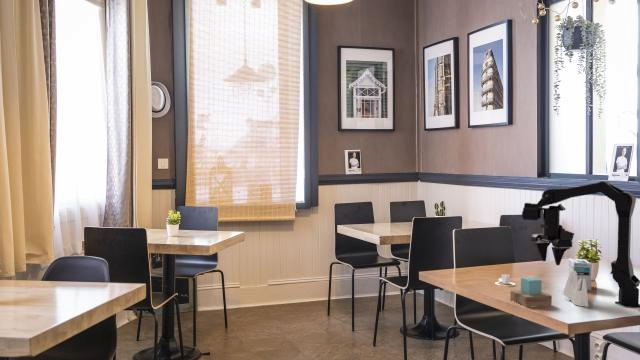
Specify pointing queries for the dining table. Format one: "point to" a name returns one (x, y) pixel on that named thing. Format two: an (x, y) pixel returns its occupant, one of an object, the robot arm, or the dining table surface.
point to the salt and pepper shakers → (576, 290)
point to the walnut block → (531, 299)
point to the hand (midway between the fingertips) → (550, 263)
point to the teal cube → (531, 286)
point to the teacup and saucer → (505, 280)
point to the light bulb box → (581, 270)
